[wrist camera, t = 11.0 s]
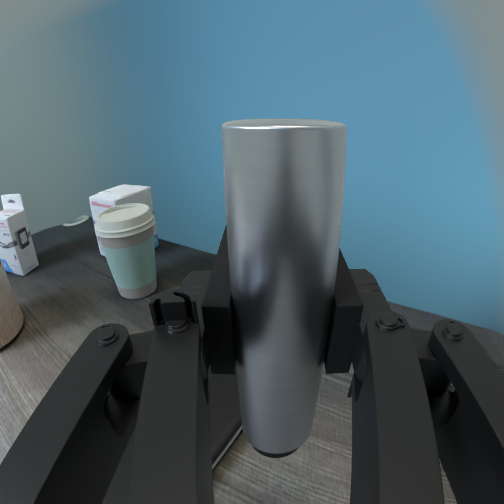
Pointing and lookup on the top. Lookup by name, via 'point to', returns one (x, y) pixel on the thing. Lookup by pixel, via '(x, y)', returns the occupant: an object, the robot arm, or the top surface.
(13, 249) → the ink box
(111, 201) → the ink box
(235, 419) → the smartphone
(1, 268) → the planter
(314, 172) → the grey metal rod
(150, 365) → the robot arm
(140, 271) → the coffee cup
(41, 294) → the top surface
